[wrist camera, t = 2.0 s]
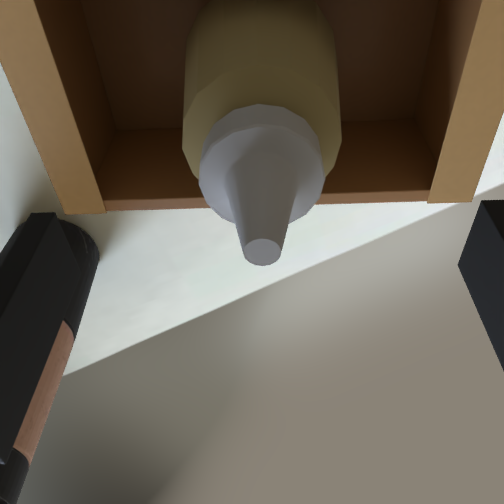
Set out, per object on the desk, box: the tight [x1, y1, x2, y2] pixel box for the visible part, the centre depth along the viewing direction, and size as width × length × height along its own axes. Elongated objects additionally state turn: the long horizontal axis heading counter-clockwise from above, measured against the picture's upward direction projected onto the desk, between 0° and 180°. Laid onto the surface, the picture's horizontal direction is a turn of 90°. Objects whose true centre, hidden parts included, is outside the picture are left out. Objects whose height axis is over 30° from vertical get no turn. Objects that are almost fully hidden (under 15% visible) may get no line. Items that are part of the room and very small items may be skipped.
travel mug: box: [0, 219, 99, 504], centre depth 32 cm, size 8×8×20 cm
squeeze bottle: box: [182, 0, 342, 266], centre depth 21 cm, size 8×8×18 cm
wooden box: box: [0, 0, 504, 215], centre depth 24 cm, size 13×23×8 cm, turn 93°
